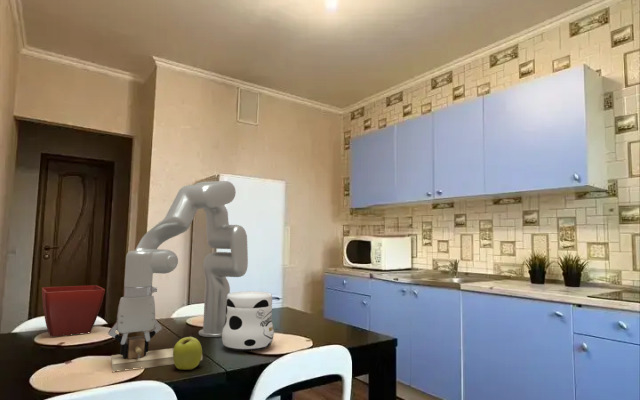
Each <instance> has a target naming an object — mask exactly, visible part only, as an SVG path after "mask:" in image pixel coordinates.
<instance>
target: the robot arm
mask: <svg viewBox="0 0 640 400" xmlns="http://www.w3.org/2000/svg"><path fill="white" fill-rule="evenodd" d="M235 187H236V186H235V185H234V184H233V183H232V182H230V181H228V180H220V181H219V180H217V181H214V180H213V181H211V180H209V181H201V182H197V183H196V182H195V184H191V185H190V184H189V185H184V186H182V187H181V188H180V189H179V190H178V192H177V194H176V196H175V198H174V200H173V201H172V203H171V205H170V208H169V209H168V211H167V213H166V215H165V217H164V218H163V219H162V220H161V221H159V222H158V223H156V224H155V225H154V226H152V228H150V229H149V230H148V231H147V232H146V233H145V234H144V235H143V236H142V237H141V239H140V240H139V242H138V244H137V246H136V248H135V250H129V251H128V252H127V254H126V255H125V256H126V257H125V270H124V271H125V272H124V285H123V286H124V287H123V296H122V297H120V300H119V304H118V307H117V314H116V321H115V323H114V324H113V325H112V326H111V328H110V329H109V331H108V332H107V333H108V334H107V335H108V336H110V337H111V338H114V339H115V340H116V341H118V343H120V355H123V358H124V359H126V357H127V338H128V335H129V334H133V333H143V338H144V339H145V346H144V356H146V352H148V351H149V345H150V344H149V343H150V341H151V340H152V339H153V337H154V336H155V335H156V334H158V333H159V332H160V331H162V329H163V327H162V326H161V324H160V323H159V322H158V320H157V318H156V301H155V296H154V295H153V294H154V293H157V292H158V287H154V286H153V278H154V277H153V276H154V274H169V273H171V272H174V270H175V269H176V268H177V266H178V265H179V258H178V255H177V254H176V253H175V252H174V250H173V251H172V250H170V249H160V248H159V247H160V246H161V245H162V244H163V243H165V242H167V241H168V240H170V239H172V238H174V237H177V236H179V235H182V234H184V233H185V232H187V231H188V230H189V228H190V227H191V224H192V222H193V219H194V218H195V216H196V213H197V211H198V210H200V209H203V211H204V212H205V221H206V225H205V226H206V241H207V245H208V246H209V247H210V248H212V249H214V250H215V249H216V250H230V252H228V251H214V252H210V253H208V254H207V255H206V256H205V258H204V259H203V271H204V272H203V273H204V280H205V282H204V287H205V288H204V301H203V302H204V303H203V305H204V307H203V323H202V324H203V325H202V329H200V330H198V335H199V336H201V337H205V338H220V337H221V338H222V331H223V327H224V324H225V320H226V305H227V304H226V301H227V295H228V294H229V293H231V287H230V283H229V281H228V278H239V277H240V278H241V277H243V276H245V274H246V273H247V271H248V266H249V265H248V264H249V261H248V260H249V259H248V258H249V256H248V255H249V254H248V235H247V232H246V230H245V228H244V227H243V226H242V225H239V224H229V223H230V222H229V211H228V209H227V207H226V206H225V205H228V204H230V203H232V202H233V201H234V199H235V197H236V188H235ZM116 331H117V332H116ZM120 334H121V335H120Z"/></svg>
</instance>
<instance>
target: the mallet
mask: <svg viewBox="0 0 640 400" xmlns="http://www.w3.org/2000/svg"><path fill="white" fill-rule="evenodd" d="M126 343H127V358H128V359H133V358H140V357H144V346H145V339H144V336H142V335H139V336H131V337H128V336H127V339H126Z"/></svg>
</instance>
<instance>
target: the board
mask: <svg viewBox="0 0 640 400" xmlns="http://www.w3.org/2000/svg"><path fill="white" fill-rule="evenodd" d="M173 349H174V347H172V348H162V349H155V350H148V352H146V356H144V357H140V358H133V359H128V358H127V357H126V359H124V358H123V355H120V354H112V355H110V365H112V367H111V371H112V370H113V371H117V370H125V369H133V368H141V367H144V368H143V369H147V368H148V369H149V368H154V367H162V366H163V367H164V366H169V365H170V366H171V365H175V364H174V360H173ZM203 354H204V353H203V352H202V356H201V360H200V362H201V361H203Z"/></svg>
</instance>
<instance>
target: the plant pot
mask: <svg viewBox="0 0 640 400" xmlns="http://www.w3.org/2000/svg"><path fill="white" fill-rule="evenodd" d="M105 291H106V289H105V288H103V287H101V286H99V285H97V284H96V285H92V284H91V285H73V286H72V285H68V286H49V287H48V286H45V287H44V286H43V287H41V297H42V299H41V300H42V309H43V316H44V320H45V326H46V329H47V332H48V334H49V335H48V336H49V337H50V336H57V337H64V336H63V335H67V336H72V335H71V334H77V335H81V334H80V333H86V334H89V333H88V332H90V333H91V332H92V330H93V328H94V325H95V323H96V320H97V318H98V315H99V313H100V309H101V307H102V303H103V300H104V296H105V293H106V292H105Z"/></svg>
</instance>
